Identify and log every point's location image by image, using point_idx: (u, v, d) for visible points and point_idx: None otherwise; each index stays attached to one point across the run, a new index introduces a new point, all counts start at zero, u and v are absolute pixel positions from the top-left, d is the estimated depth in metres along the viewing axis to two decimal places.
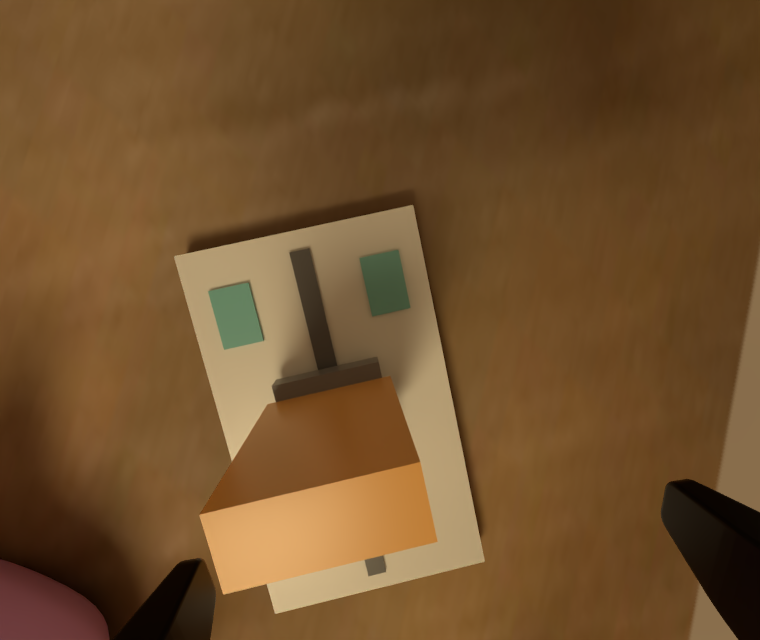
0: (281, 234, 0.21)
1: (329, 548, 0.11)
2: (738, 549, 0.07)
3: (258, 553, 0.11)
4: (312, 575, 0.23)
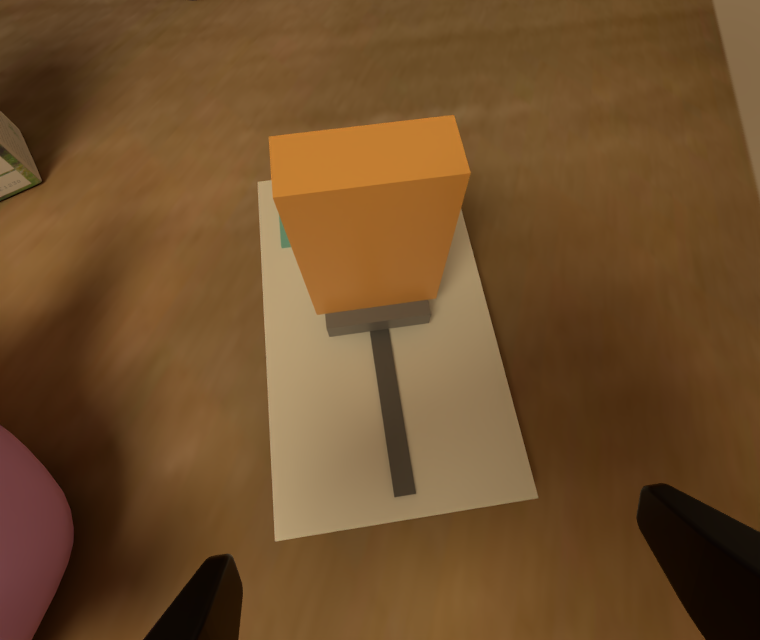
0: None
1: (372, 170, 0.13)
2: (708, 554, 0.07)
3: (310, 168, 0.13)
4: (327, 490, 0.19)
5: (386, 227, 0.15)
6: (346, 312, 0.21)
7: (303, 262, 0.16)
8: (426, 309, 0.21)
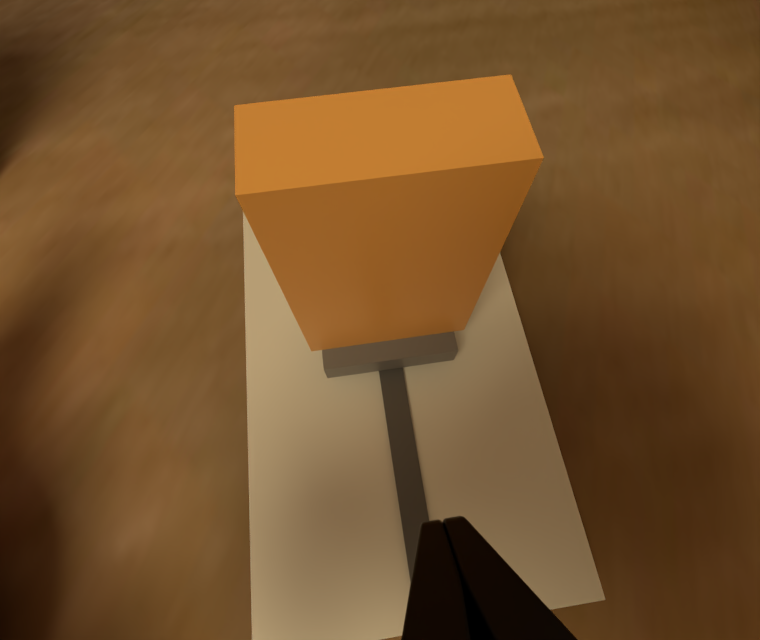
0: None
1: (391, 153, 0.08)
2: (465, 596, 0.06)
3: (295, 150, 0.08)
4: (324, 587, 0.15)
5: (408, 241, 0.10)
6: (349, 348, 0.16)
7: (290, 288, 0.12)
8: (452, 344, 0.16)
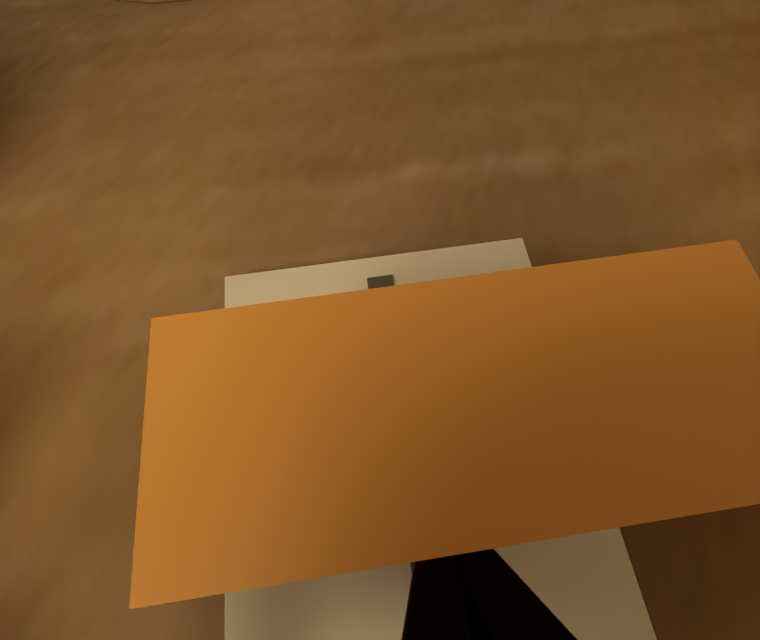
0: (359, 260, 0.17)
1: (510, 467, 0.04)
2: (465, 596, 0.06)
3: (283, 456, 0.04)
4: None
5: None
6: None
7: None
8: None
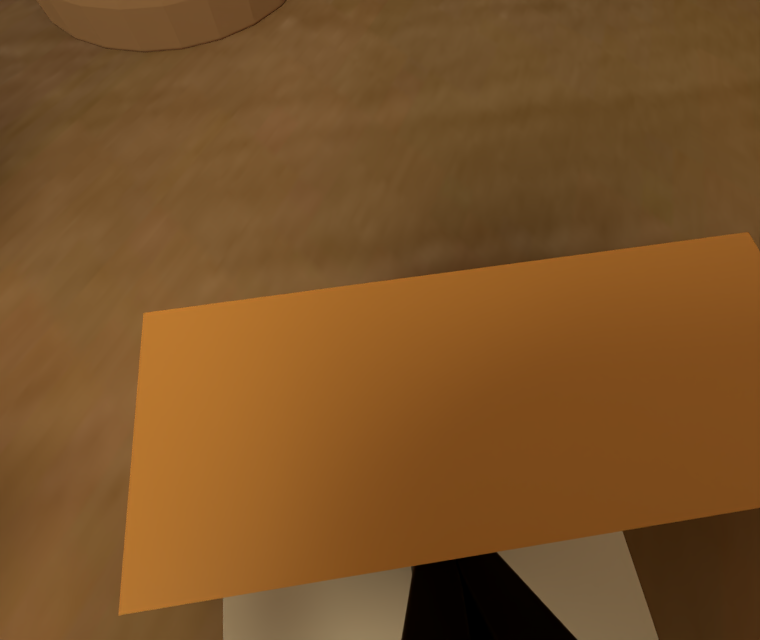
0: None
1: (514, 465, 0.03)
2: (465, 596, 0.06)
3: (279, 455, 0.03)
4: None
5: None
6: None
7: None
8: None
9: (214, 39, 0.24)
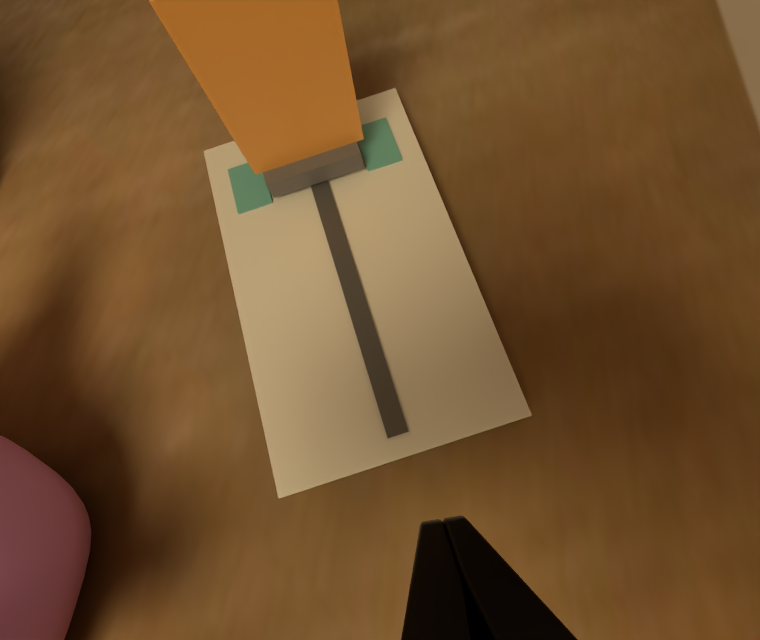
0: None
1: None
2: (465, 596, 0.06)
3: None
4: (321, 443, 0.19)
5: (275, 35, 0.16)
6: (281, 166, 0.22)
7: (213, 95, 0.17)
8: (356, 150, 0.22)
9: None
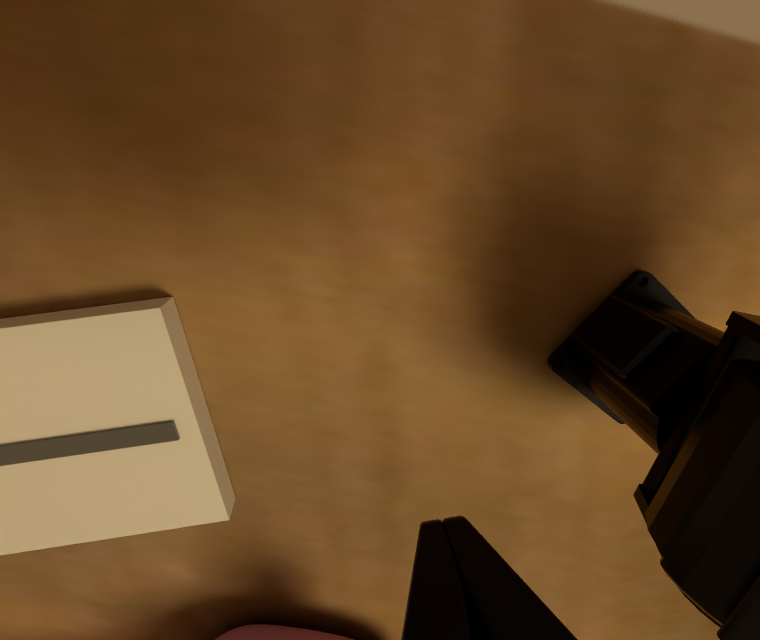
0: None
1: None
2: (465, 596, 0.06)
3: None
4: (182, 488, 0.21)
5: None
6: None
7: None
8: None
9: None
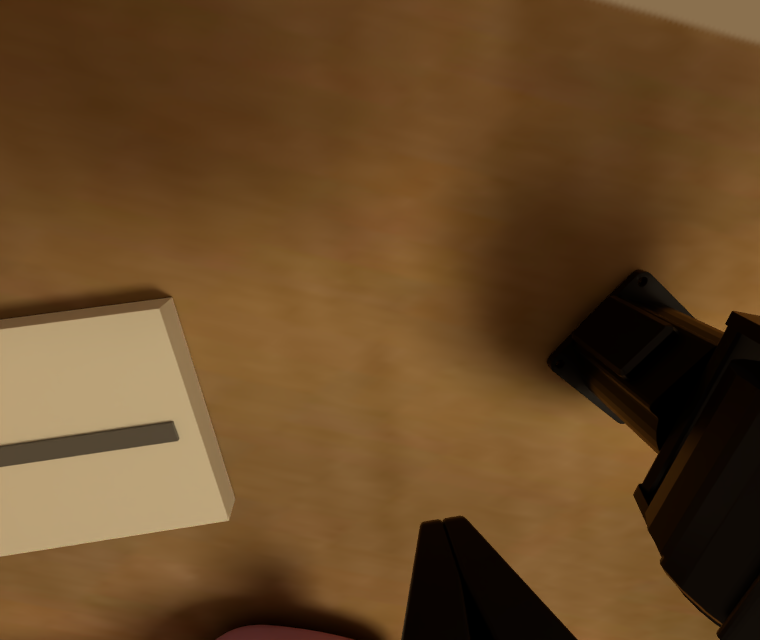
0: None
1: None
2: (465, 596, 0.06)
3: None
4: (181, 489, 0.21)
5: None
6: None
7: None
8: None
9: None
